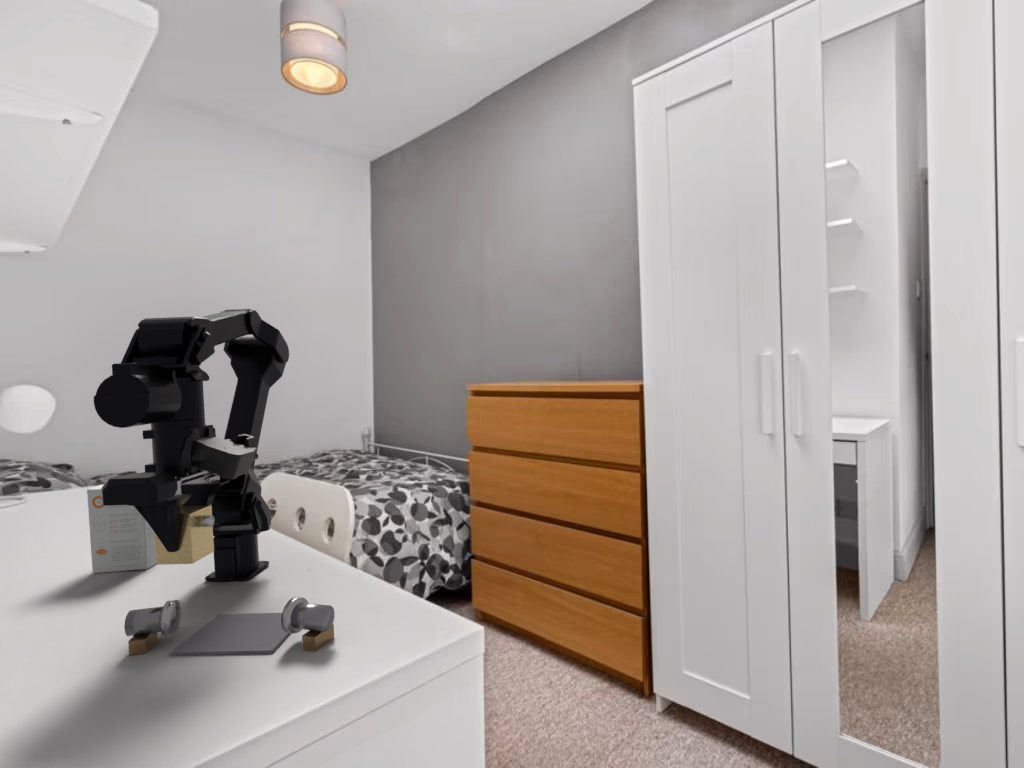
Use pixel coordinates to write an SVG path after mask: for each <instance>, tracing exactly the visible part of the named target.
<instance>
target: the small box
mask: <svg viewBox="0 0 1024 768" xmlns="http://www.w3.org/2000/svg"><path fill="white" fill-rule="evenodd" d="M104 484H105V483H104ZM104 484H100V485H98V486H94V487H91V488H87V490H86V495H87V507H88V522H89V523H88V524H89V535H90V536H89V537H90V538H89V539H90V552H91V553H90V555H91V562H92V563H91V566H92V567H91V568H92V573H93V574H101V573H113V572H127V571H128V572H129V571H137V570H139V571H140V570H148V569H150V568H152V567H153V566H155V565H157V556H156V539H155V532H154V531H153V529H152V528H151V527H150V525H149V524H148V523H147V521H146V520H145V519H144V518H143V516H142V515H141V514H140V513H139V512H138V511H137V509H136V508H135V507H134V506H129V505H110V506H103V505H102V489H101V488H102V487H103V485H104Z"/></svg>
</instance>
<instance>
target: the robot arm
mask: <svg viewBox="0 0 1024 768" xmlns="http://www.w3.org/2000/svg"><path fill="white" fill-rule="evenodd" d="M137 327H138V328H137V329H135V331H134V333H133V335H132V337H131V340H130V342H129V344H128V346H127V348H126V350H125V353H124V355H123V357H122V359H121V362H119V363H112V365H111V371H112V372H111V373H112V374H111V375H110V376H108V377H106V378H105V379H104V380H103V381H102V382H100V384H99V385H98V387H97V389H96V392H95V395H94V396H93V406H94V410H95V412H96V413H97V416H98V417H99V418H100V419H101V420H102V421H103V422H104V423H106V424H107V425H109V426H111V427H115V428H118V429H119V428H120V429H121V428H122V429H125V428H132V427H138V426H144V425H150V429H145V430H142V439H143V440H151V447H152V463H147V464H144V472H132V473H128V474H123V475H119V476H115V477H112V478H109V479H107V481H106V482H105V483H104V485H103V484H102V485H103V487H102V488H101V489H102V505H103V506H110V505H129V506H134V507H135V508H136V509H137V511H138V512H139V513H140V514H141V515H142V516H143V518H144V519H145V520H146V521H147V523H148V524H149V525H150V527H151V528H152V529H153V531H154V532H155V534H156V535H157V537H158V538H159V540H160V541H161V543H162V544H163V545H164V547H165V548H166V550H167V551H168V552H176V551H178V549H179V541H180V520H181V507H182V506H189V505H211V506H212V515H213V516H214V524H213V541H214V552H213V565H214V571H212V572H211V573H210V574H207V575H205V576H204V580H205V581H206V582H210V581H211V582H212V581H213V582H215V581H217V582H218V581H246V580H250V579H252V578H253V577H254V576H255V575H257V574H258V573H260V572H261V571H262V570H263V569H265V568H266V567H268V566H269V565H270V561H269V560H260V553H259V540H258V539H259V538H258V537H259V536H258V535H260V534H261V533H264V532H268V531H269V530H271V525H272V510H271V508H270V506H268V504H267V502H266V501H265V499H264V497H263V496H262V486H261V483H260V481H259V478H257V475H256V473H255V472H254V470H255V464H256V461H257V460H258V459H259V454H258V447H259V442H260V437H261V433H262V427H263V423H264V419H265V413H266V408H267V407H266V406H267V402H268V396H269V393H270V392H269V391H270V389H271V387H273V386H274V385H275V384H276V383H277V381H279V380H280V379H281V378H282V377H283V375H284V372H285V368H286V365H287V363H288V361H289V358H290V350H289V346H288V342H286V340H285V338H284V336H283V335H282V333H281V332H280V330H279V329H278V328H276V327H274V326H273V325H272V324H270V323H268V322H267V321H265V320H263V319H262V317H261V316H260V314H259V313H258V312H257V310H253V309H252V308H235V309H225V310H223V311H220V312H218V313H212V314H208V315H205V316H177V317H175V316H174V317H173V316H171V317H153V318H152V317H151V318H150V317H148V318H147V317H146V318H143V319H141V320H140V321H139V323H137ZM248 335H249V336H248ZM251 335H252V336H251ZM222 344H224V345H223V352H224V353H225V354H226V355H227V357H228V358H229V359H230V367H231V368H232V370H233V372H234V374H235V376H236V378H237V380H236V385H235V389H234V390H235V391H234V394H233V398H232V399H233V400H232V403H231V408H230V411H229V416H228V421H227V425H226V429H225V432H224V437H223V438H219V437H217V433H216V427H214V424H206V415H205V413H206V412H205V399H204V397H205V396H204V395H205V394H204V382H208V381H210V375H208V373H207V372H206V371H205V370H203V369H202V368H201V367H200V366H201V365H202V363H203V362H205V361H206V360H207V359H209V358H210V357H211V356H212V355H214V354H215V352H216V351H215V347H216V346H218V345H222Z"/></svg>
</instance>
